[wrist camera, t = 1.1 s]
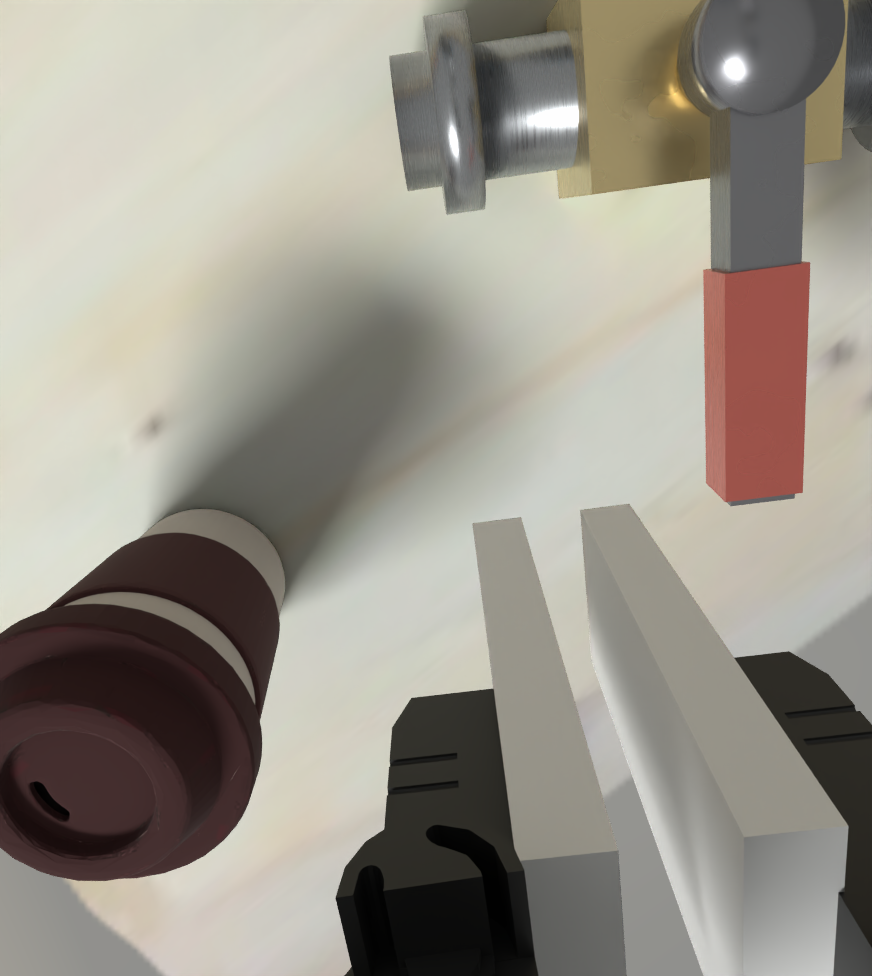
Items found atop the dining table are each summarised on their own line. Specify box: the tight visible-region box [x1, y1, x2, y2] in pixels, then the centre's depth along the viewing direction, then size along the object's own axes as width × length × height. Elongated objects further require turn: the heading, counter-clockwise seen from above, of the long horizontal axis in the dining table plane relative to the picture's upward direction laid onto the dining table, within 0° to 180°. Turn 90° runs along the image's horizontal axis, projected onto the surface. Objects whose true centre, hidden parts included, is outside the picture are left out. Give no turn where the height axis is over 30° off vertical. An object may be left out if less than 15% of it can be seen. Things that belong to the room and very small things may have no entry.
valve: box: [389, 0, 872, 215], centre depth 26 cm, size 20×6×9 cm, turn 98°
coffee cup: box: [0, 509, 285, 881], centre depth 30 cm, size 10×10×15 cm
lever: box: [677, 0, 845, 506], centre depth 22 cm, size 15×4×2 cm, turn 8°
